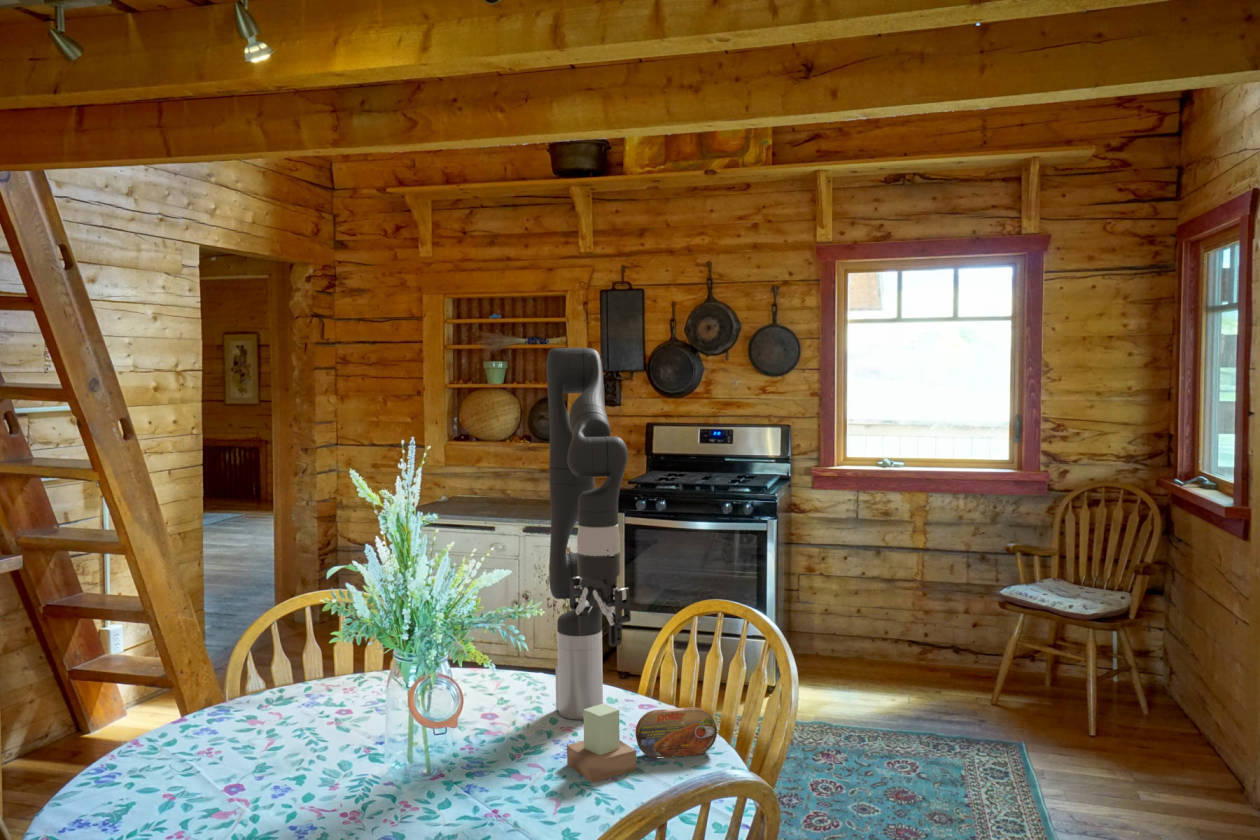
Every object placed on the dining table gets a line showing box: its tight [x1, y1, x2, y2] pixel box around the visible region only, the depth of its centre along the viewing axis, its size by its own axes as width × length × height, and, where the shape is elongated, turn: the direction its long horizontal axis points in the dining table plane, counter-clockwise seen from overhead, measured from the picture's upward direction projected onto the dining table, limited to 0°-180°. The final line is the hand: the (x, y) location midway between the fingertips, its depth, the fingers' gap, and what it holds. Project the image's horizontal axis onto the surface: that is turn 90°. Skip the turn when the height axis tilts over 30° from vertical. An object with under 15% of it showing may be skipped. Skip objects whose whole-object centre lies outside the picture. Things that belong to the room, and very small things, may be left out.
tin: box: [635, 706, 718, 759], centre depth 175 cm, size 15×3×8 cm, turn 99°
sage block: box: [583, 703, 621, 755], centre depth 169 cm, size 4×4×7 cm
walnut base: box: [566, 740, 637, 784], centre depth 169 cm, size 9×9×4 cm
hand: (599, 640), depth 168 cm, fingers open, 8 cm apart
